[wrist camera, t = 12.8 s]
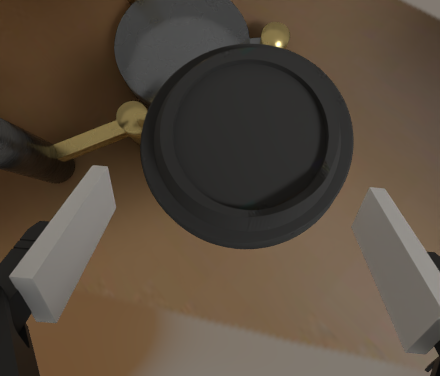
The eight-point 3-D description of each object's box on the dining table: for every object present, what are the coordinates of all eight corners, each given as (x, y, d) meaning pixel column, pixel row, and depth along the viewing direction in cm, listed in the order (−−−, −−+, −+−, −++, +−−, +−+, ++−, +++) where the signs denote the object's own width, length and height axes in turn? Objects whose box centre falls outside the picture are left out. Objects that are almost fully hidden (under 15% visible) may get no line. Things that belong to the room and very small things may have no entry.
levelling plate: (290, 39, 27) (296, 22, 25) (239, 149, 26) (240, 141, 24) (135, -27, 28) (128, -48, 26) (77, 75, 27) (64, 62, 24)
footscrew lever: (151, 112, 26) (110, 43, 16) (163, 142, 26) (129, 90, 16) (36, 157, 25) (-77, 113, 16) (47, 189, 25) (-63, 164, 15)
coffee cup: (161, 168, 25) (79, 84, 11) (249, 117, 26) (288, -30, 11) (214, 259, 24) (206, 306, 10) (305, 203, 25) (429, 167, 10)
